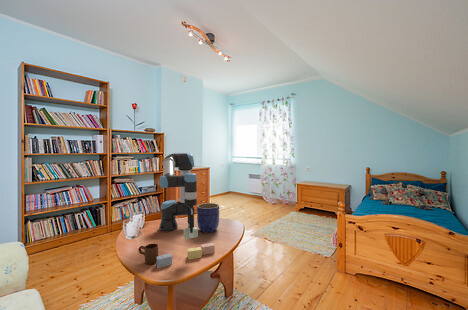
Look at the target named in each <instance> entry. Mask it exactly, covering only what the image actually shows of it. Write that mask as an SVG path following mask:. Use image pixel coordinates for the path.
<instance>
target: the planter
mask: <svg viewBox="0 0 468 310" xmlns="http://www.w3.org/2000/svg"><path fill="white" fill-rule="evenodd" d="M196 222H197V228H198V230H200V232H202V233H206V234H209V233H214V232H216V230H217V229H218V227H219V225H220V205H219V204H217V203H214V202H206V203H205V202H203V203H200V204H198V205H197V206H196Z"/></svg>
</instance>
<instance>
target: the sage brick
mask: <svg viewBox="0 0 468 310" xmlns="http://www.w3.org/2000/svg"><path fill="white" fill-rule="evenodd" d="M198 237H199V228H198V226H194V238H198ZM183 238H184V239H185V240H187V239H189V240H190V238H189V228H188V227H186V228H183Z"/></svg>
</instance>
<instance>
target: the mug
mask: <svg viewBox="0 0 468 310" xmlns="http://www.w3.org/2000/svg"><path fill="white" fill-rule="evenodd" d="M143 250H144V251H143ZM138 253H139V254H140V255H143V256H144V263H145V265H147V266H149V265H150V266H151V265H154V264H155V265H156V257H157V256H159V244H158V243H149V244H146V245H139V247H138Z"/></svg>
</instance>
